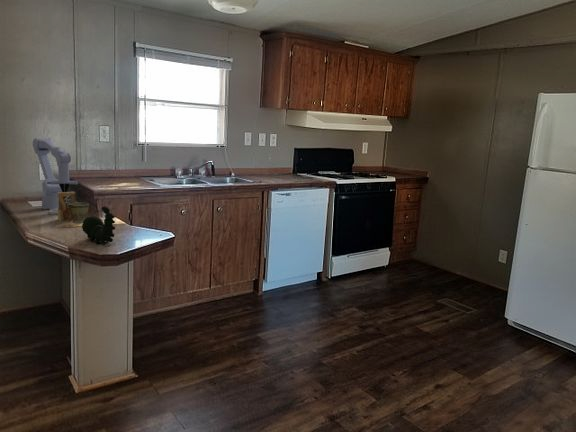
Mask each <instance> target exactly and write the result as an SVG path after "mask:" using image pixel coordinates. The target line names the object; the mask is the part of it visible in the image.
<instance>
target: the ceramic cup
mask: <svg viewBox="0 0 576 432" xmlns="http://www.w3.org/2000/svg"><path fill="white" fill-rule="evenodd" d="M69 208H70V211H71V215H72V222H73V223H75V224H83V221H84V220H85V218H87V217H88V213H89V208H90V203H88V202H80V201H78V202H76V203H70V204H69Z"/></svg>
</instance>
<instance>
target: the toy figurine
mask: <svg viewBox="0 0 576 432" xmlns="http://www.w3.org/2000/svg"><path fill="white" fill-rule="evenodd" d="M100 210H101V211H102V212H104V220H102V219H101V217H99V216H96V215H91V216H87V218H85V220H84V221H83V223H81V228H82V232H84V234H86V236H87V238H88V239H89V240H90V241H91V242H92V241H93V242H94V243H95V244H99V243H101V244H104V243H112V242H113V241H114V237H115V233H114V231H115V229H116V226H114V225H113V224H115V223H116V220H114V218H115V215H114V214H113V213H111V212H110V211H111V210H110V208H109V207H107V206H102V207H101V209H100Z"/></svg>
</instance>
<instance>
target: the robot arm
mask: <svg viewBox="0 0 576 432" xmlns="http://www.w3.org/2000/svg"><path fill="white" fill-rule="evenodd" d="M32 148H33V151H34V153H35V154H36V155H37V157H38V160H39V163H40V168H41V169H42V174H43V176H44V181H43V182H42V183H41V187H42V192H43V194H42V196H41V210H42V209H44V210H55V209H58V205H57V193H59V192H68V190H69V188H70V185H78V184H79V182H78V181H79V180H70V163H71V161H72V160H71V159H72V158H71V155H70V153H65V152H64V151H63V150H62V149H61V148H60V147H58V146H57V147H56V146H55V145H54V144H53V140H52V139H51V138H49V137H48V138H37V137H36V138H33V140H32ZM49 154H51V155H52V156H53V157H54V158H55V162H56V165H57V168H58V179H57V178H55V175H54V172H53V169H52V167H51V164H50V163H51V162H50V160H49V156H48V155H49Z"/></svg>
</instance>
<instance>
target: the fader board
mask: <svg viewBox="0 0 576 432" xmlns="http://www.w3.org/2000/svg"><path fill="white" fill-rule="evenodd" d="M49 215H50V216H51V215H52V216H53V215H58V209H49Z"/></svg>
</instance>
